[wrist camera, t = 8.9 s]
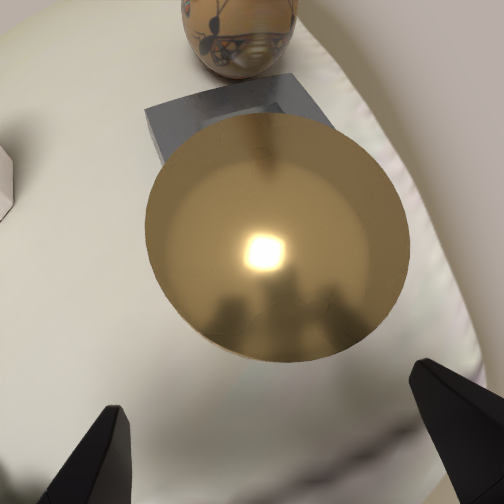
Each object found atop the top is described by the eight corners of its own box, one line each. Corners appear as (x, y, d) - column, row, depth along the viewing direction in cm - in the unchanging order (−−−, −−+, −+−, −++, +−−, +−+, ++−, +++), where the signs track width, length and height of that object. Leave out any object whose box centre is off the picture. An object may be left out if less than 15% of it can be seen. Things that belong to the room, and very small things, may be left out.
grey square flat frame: (362, 207, 22) (376, 190, 20) (205, 271, 20) (204, 258, 17) (285, 93, 25) (291, 73, 23) (149, 131, 23) (144, 109, 20)
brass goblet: (308, 330, 19) (448, 272, 7) (221, 379, 18) (230, 419, 5) (260, 247, 20) (319, 92, 8) (173, 290, 19) (109, 165, 7)
